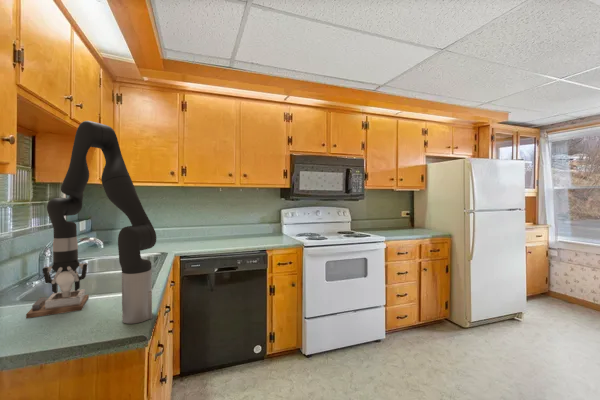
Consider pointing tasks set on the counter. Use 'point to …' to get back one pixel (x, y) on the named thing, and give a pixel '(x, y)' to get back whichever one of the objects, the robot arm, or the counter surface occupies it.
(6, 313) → the counter surface
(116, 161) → the robot arm
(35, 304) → the jig
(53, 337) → the counter surface
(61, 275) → the lightbulb
